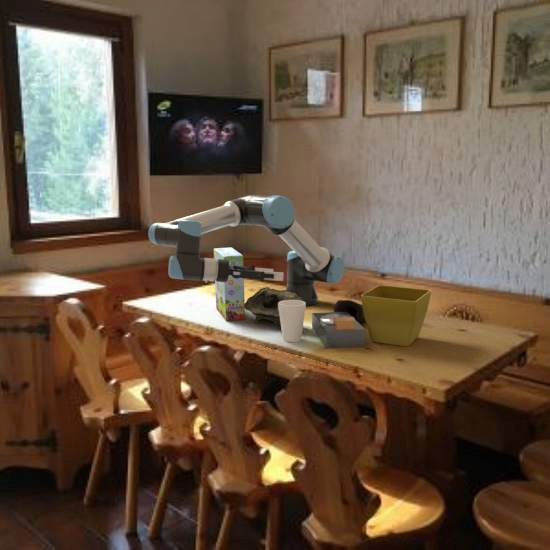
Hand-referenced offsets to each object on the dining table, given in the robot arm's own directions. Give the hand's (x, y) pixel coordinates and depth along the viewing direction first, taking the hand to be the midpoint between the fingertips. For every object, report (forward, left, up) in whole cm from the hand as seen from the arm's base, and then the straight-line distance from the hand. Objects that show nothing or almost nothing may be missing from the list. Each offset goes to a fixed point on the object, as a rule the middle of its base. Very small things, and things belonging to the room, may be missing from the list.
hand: (277, 274), depth 208 cm
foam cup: (+1, +5, -23) cm, 23 cm away
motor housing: (+1, +21, -23) cm, 31 cm away
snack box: (-38, -14, -23) cm, 47 cm away
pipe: (-21, +31, -23) cm, 44 cm away
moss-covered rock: (-20, +2, -23) cm, 31 cm away
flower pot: (+7, +40, -23) cm, 46 cm away
